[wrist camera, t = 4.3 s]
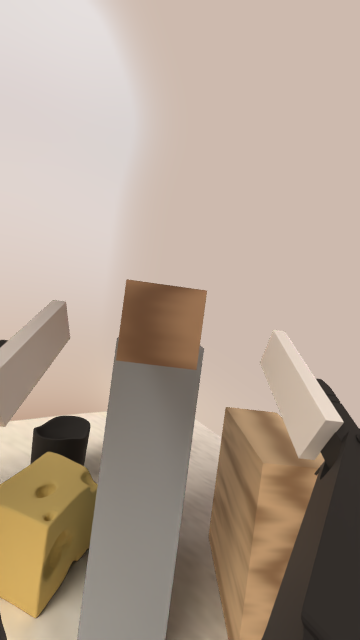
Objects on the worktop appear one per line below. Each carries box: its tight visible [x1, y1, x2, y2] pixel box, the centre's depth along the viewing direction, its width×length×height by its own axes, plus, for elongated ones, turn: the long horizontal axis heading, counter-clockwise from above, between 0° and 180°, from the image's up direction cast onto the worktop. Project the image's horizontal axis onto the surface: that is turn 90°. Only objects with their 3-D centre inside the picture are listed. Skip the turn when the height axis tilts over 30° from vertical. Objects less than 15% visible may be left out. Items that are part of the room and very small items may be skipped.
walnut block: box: [116, 280, 207, 370], centre depth 24 cm, size 4×25×4 cm, turn 3°
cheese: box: [0, 452, 98, 618], centre depth 30 cm, size 10×11×10 cm
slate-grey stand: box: [77, 337, 204, 640], centre depth 29 cm, size 8×14×30 cm, turn 3°
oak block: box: [209, 407, 325, 640], centre depth 30 cm, size 8×14×20 cm, turn 3°
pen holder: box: [31, 416, 90, 466], centre depth 44 cm, size 9×9×10 cm
